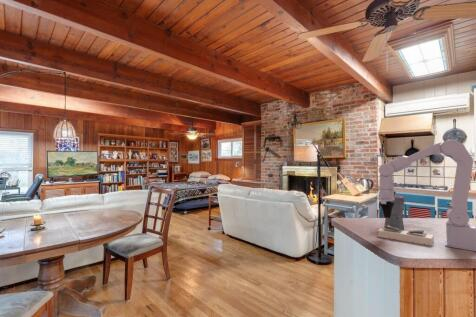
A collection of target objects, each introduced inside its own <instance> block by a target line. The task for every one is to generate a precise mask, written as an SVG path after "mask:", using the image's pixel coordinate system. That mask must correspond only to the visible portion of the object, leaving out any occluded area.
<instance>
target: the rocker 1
mask: <svg viewBox="0 0 476 317" xmlns="http://www.w3.org/2000/svg"><path fill="white" fill-rule="evenodd" d="M386 228H388V229H392V230H395V231H399V228H396V227H392V226H389V225H388V226H386Z"/></svg>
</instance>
